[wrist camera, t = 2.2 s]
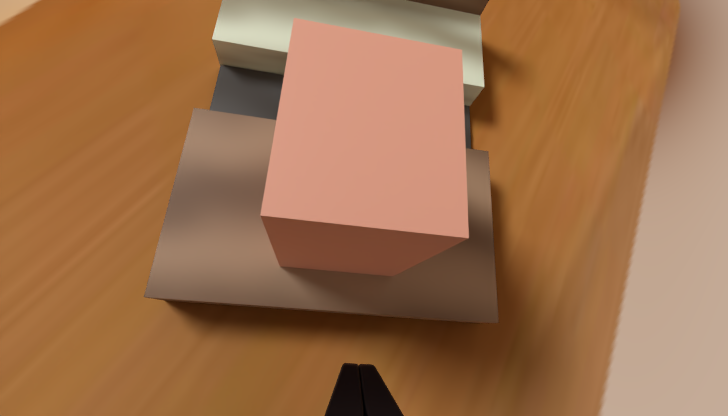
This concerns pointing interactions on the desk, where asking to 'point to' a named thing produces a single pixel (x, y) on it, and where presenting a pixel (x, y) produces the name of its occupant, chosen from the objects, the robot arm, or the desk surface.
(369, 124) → the brick block
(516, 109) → the desk surface
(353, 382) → the robot arm
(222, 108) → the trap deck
